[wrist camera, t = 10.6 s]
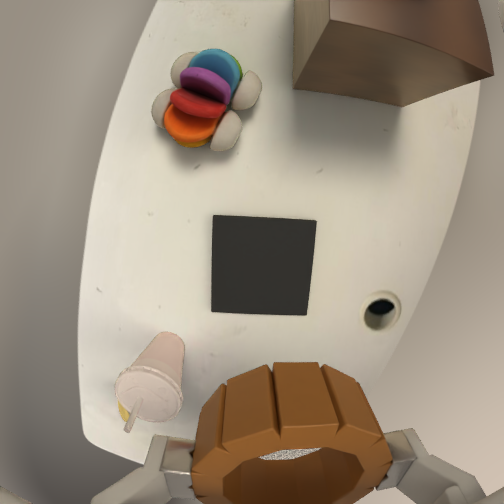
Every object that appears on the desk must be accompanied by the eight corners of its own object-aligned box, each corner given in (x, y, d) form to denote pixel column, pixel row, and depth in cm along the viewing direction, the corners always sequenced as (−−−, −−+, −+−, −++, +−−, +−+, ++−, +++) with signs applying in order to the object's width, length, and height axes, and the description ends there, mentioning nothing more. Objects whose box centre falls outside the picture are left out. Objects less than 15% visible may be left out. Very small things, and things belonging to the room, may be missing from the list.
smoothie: (142, 316, 32) (91, 394, 19) (198, 326, 33) (172, 414, 19) (143, 362, 34) (103, 444, 20) (194, 372, 34) (173, 462, 21)
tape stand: (395, 17, 24) (484, -60, 6) (402, 107, 27) (528, 66, 9) (294, -5, 24) (328, -122, 6) (292, 88, 27) (347, -12, 9)
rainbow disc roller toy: (150, 132, 28) (122, 121, 21) (192, 50, 26) (178, 19, 19) (226, 164, 29) (219, 161, 22) (269, 79, 27) (276, 51, 20)
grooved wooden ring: (384, 358, 10) (420, 412, 7) (344, 465, 11) (358, 514, 8) (197, 357, 9) (181, 421, 7) (204, 468, 11) (198, 521, 8)
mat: (315, 220, 30) (316, 221, 29) (305, 313, 32) (306, 315, 32) (213, 214, 30) (212, 215, 29) (212, 309, 32) (211, 312, 32)
